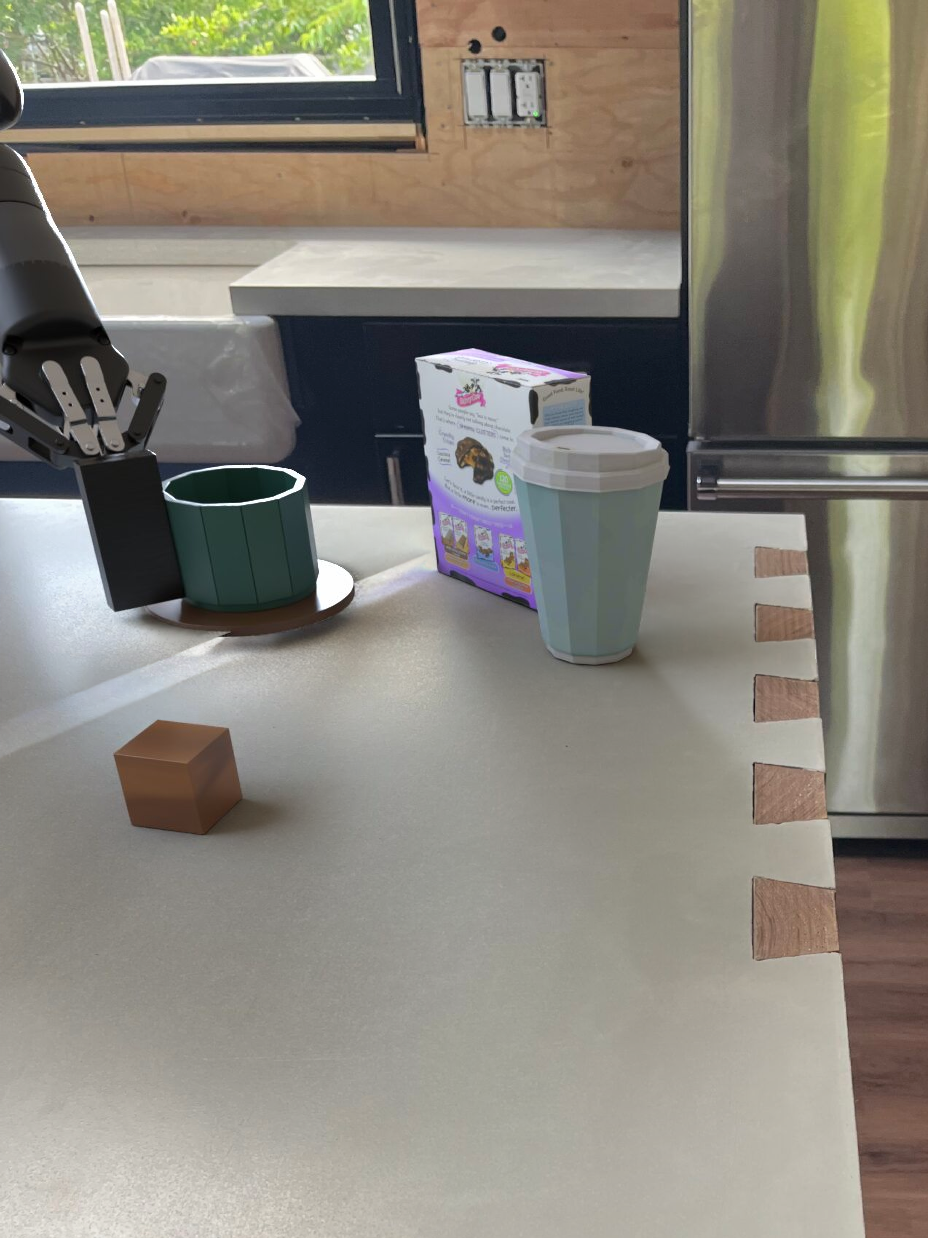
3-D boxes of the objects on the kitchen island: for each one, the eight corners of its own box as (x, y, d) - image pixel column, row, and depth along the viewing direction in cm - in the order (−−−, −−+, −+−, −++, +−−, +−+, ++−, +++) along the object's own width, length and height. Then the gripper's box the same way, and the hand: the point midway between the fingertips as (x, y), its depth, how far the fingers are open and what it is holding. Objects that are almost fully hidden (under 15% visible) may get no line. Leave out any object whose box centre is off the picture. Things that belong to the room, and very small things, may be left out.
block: (203, 835, 73) (187, 763, 70) (131, 825, 74) (112, 753, 71) (243, 797, 76) (229, 727, 74) (173, 788, 77) (157, 719, 75)
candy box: (600, 597, 104) (595, 373, 94) (542, 616, 100) (530, 385, 91) (490, 554, 112) (474, 343, 102) (432, 570, 108) (411, 353, 99)
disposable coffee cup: (557, 612, 101) (548, 405, 92) (691, 633, 98) (694, 421, 90) (494, 665, 93) (477, 442, 84) (638, 688, 90) (636, 461, 81)
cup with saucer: (305, 552, 108) (282, 405, 102) (390, 607, 98) (370, 448, 92) (83, 597, 99) (42, 438, 93) (152, 662, 89) (112, 490, 83)
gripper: (-76, 263, 87) (27, 497, 86) (128, 249, 94) (226, 465, 93) (-70, 337, 94) (26, 555, 93) (120, 318, 101) (212, 522, 100)
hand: (126, 510), depth 93 cm, fingers closed
